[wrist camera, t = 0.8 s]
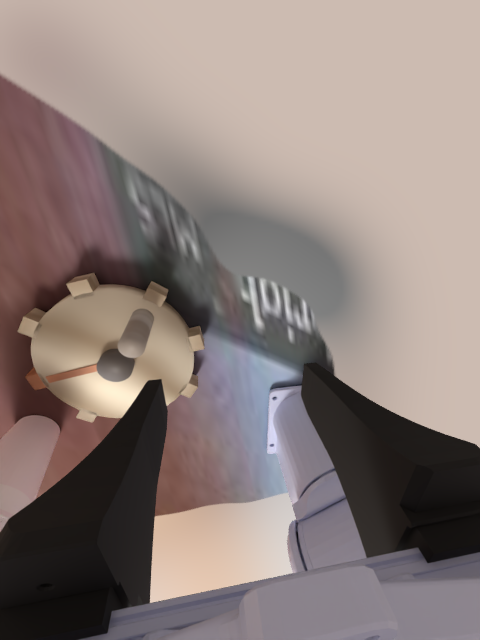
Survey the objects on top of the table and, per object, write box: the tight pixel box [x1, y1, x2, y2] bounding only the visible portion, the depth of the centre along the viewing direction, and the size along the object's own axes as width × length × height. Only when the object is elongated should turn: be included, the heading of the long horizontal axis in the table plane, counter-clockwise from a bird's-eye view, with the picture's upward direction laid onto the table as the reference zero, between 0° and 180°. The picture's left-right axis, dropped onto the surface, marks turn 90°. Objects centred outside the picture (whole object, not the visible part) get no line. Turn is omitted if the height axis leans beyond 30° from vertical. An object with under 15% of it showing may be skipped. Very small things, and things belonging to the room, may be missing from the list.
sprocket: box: [18, 273, 204, 423], centre depth 20 cm, size 14×14×6 cm
